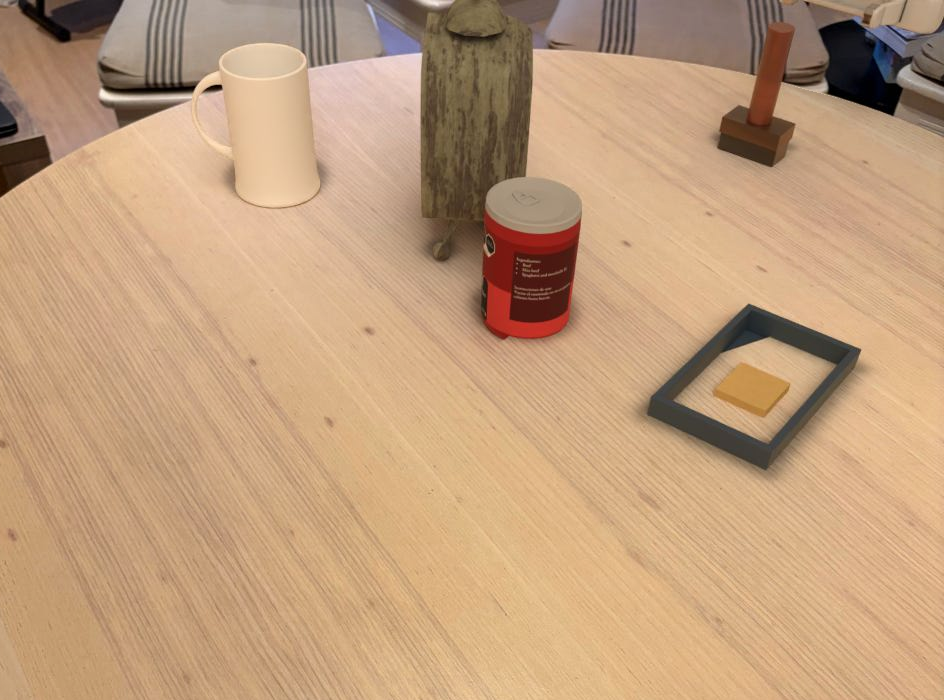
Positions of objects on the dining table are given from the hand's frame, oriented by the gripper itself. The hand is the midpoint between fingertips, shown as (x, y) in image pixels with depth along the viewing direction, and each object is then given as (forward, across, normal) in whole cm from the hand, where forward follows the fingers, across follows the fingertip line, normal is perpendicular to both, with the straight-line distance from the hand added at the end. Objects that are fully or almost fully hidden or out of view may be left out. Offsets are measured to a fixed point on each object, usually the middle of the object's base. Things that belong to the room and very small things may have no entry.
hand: (827, 7), depth 108 cm
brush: (+12, 0, +11) cm, 16 cm away
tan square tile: (+51, +20, +10) cm, 56 cm away
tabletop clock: (+44, -13, +11) cm, 47 cm away
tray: (+50, +20, +11) cm, 55 cm away
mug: (+51, -35, +11) cm, 63 cm away
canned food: (+53, -1, +11) cm, 54 cm away
